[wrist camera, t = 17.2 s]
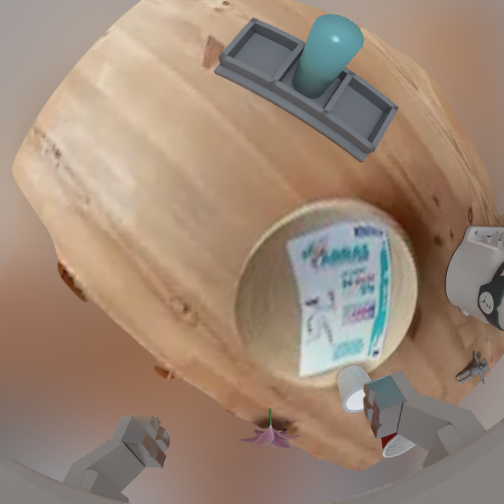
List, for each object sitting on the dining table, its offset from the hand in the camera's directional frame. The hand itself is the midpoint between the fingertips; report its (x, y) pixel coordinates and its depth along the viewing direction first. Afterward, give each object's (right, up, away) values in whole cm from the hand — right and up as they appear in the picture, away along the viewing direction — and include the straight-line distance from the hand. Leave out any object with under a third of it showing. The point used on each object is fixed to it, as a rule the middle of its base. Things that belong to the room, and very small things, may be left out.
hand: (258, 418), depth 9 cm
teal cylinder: (+8, +30, +24) cm, 39 cm away
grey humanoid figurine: (+54, -23, +38) cm, 70 cm away
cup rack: (+8, +30, +25) cm, 40 cm away
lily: (+3, -29, +39) cm, 49 cm away
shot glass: (+18, -17, +37) cm, 44 cm away
